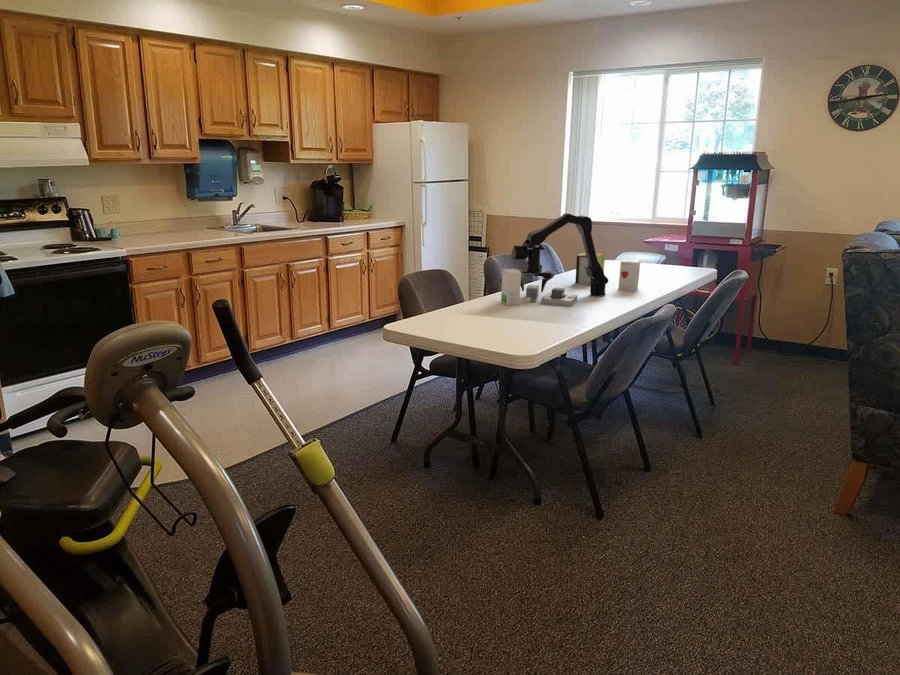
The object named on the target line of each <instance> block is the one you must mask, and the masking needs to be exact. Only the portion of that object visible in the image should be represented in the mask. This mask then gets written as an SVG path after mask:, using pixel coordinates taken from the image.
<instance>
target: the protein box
mask: <svg viewBox="0 0 900 675" xmlns="http://www.w3.org/2000/svg"><path fill="white" fill-rule="evenodd" d="M595 252H596V251H595ZM596 256H597V260H598V262H599V264H600V265H601V267H602V269H603V271H604V272H605V260H606V258H605V257H606V253H605V252H596ZM575 263H576V264H575V265H576V266H575V282H574V283H575V284H576V285H577V284H578V285H586V286H591V285H592V282H593V281H591V279H590V277H589V276H588V275H586V269H585V267H587V266H588V260H587V256H586V252H585V251H584V252H582V253H579V254H577V255H576V262H575Z"/></svg>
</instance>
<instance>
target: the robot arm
mask: <svg viewBox="0 0 900 675" xmlns="http://www.w3.org/2000/svg"><path fill="white" fill-rule="evenodd" d="M568 223H571V224H574V225H575V227H576V229H577V231H578V233H579V234H580V235H581V239H582V244H583V247H584V253H585V252H586V256H587V260H588V266H587V267H585V269H586V275H588V276H589V277H590V279H591V281H593V282H592V285H590V287H589V288H590V289H589V291H590V292H589V293H590V296H594V297H595V296H597V297H598V296H599V297H604V296H606V287H607V286H606V284H607V285H608V282H609V278H608V277H607V276H606V275H605V270H604V271H603V269H602V267H601V265H600V264H599V262H598V260H597V256H596V248H595V243H594V240H593V236H592V231H593V222H592V218H591V217H589V216H586V215H573V214H571V213H567V212H565V213H563V214H562V215H561V216H559V217H558V218H556V219H555V220H553V221H551V222H550V223H548V224H546V225H545V226H543V227H542V228H538V229H535V230H533V231H530V232H529V233H528V234H527V236H526V239H525V240H524V241H523V243H522V244H521V245H517V244H516V245H515V244H513V248H512V251H511V258H512V260H513V261H519V260H522V261H523V260H524V261H525V260H526V259H527V262H526V264H527V265H526V266H527V268H526V269H527V270H525V271H524V269H522V268H521V269H520V268H516V269H517V270H519V271H520V272H521V285H520V289H521V291H522V292H524V291H525V276H531V277H542V280H541V288H540V293H543V292H544V289H545V287H546V284H547V283H548V281H550V280H552V279H553V278H554V277H555V273H554V271H551V270H545V271H543V265H542V264H541V251H543V250H544V251H545V247H544V246H543V245H542V243H543V242H545V241H546V240H547V238H548V237H549V236H550V235H551V234H553V233H554V232H556V231H558V230H560V229H561V228H562V227H564V226H565V225H567V224H568ZM542 271H543V272H542Z"/></svg>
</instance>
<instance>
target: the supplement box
mask: <svg viewBox="0 0 900 675" xmlns="http://www.w3.org/2000/svg"><path fill="white" fill-rule="evenodd" d="M640 267H641V260H640V259H630V258H629V259H627V258H622V259H621V261H620V267H619V277H618V278H619V279H618V291H624V292H625V291H626V292H637V290H638V288H639V278H640V269H641V268H640Z"/></svg>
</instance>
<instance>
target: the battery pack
mask: <svg viewBox="0 0 900 675" xmlns="http://www.w3.org/2000/svg"><path fill="white" fill-rule="evenodd" d="M539 290H540V285H534V284H528V285H527V286H526V289H525V291H526V292H525V298H526V297H531V300H532V301H537V300H538V298H539V295H540V294H539V293H540V292H539Z"/></svg>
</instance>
